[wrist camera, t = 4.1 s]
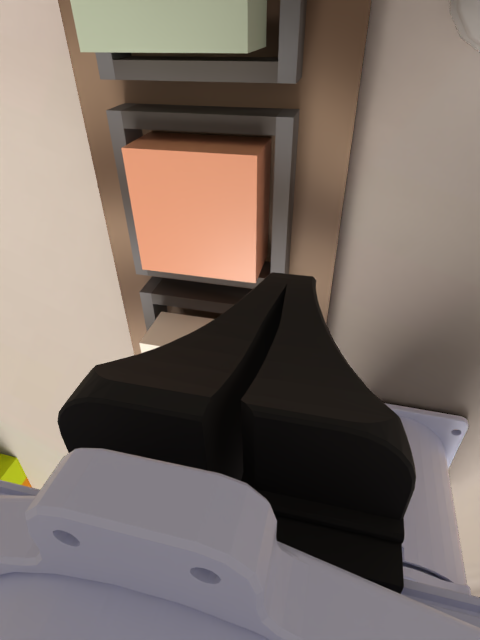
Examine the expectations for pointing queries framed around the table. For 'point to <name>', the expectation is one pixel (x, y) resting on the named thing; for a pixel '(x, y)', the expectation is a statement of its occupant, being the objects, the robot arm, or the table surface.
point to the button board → (233, 120)
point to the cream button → (170, 329)
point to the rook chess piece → (467, 20)
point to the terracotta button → (200, 203)
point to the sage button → (170, 25)
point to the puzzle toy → (12, 471)
